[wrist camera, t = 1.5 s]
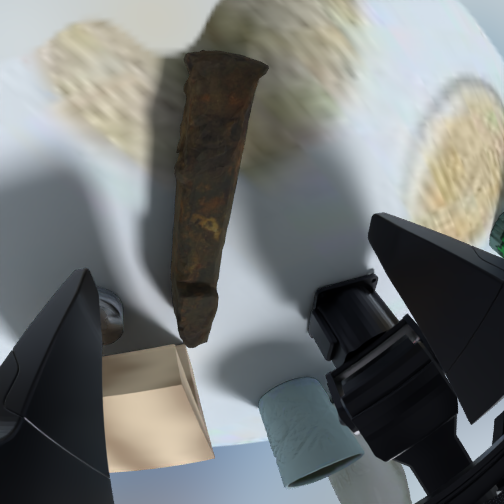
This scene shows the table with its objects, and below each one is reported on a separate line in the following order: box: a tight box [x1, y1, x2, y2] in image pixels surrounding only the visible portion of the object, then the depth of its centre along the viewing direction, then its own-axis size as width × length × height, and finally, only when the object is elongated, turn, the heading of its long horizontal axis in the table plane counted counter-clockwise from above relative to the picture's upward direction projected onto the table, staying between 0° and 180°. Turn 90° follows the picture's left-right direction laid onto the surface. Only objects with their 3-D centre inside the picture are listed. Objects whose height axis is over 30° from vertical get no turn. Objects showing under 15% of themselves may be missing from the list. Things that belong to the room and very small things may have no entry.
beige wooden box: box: [102, 344, 215, 473], centre depth 20 cm, size 11×13×10 cm
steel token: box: [96, 286, 123, 346], centre depth 21 cm, size 4×4×2 cm
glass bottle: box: [328, 403, 412, 504], centre depth 35 cm, size 10×10×28 cm
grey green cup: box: [258, 377, 365, 489], centre depth 34 cm, size 10×10×12 cm
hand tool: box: [171, 50, 269, 348], centre depth 18 cm, size 19×4×5 cm, turn 166°
